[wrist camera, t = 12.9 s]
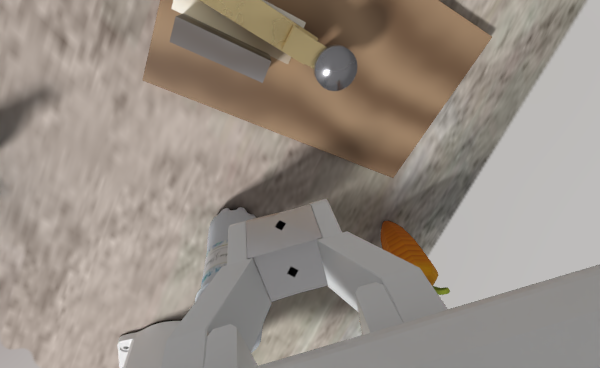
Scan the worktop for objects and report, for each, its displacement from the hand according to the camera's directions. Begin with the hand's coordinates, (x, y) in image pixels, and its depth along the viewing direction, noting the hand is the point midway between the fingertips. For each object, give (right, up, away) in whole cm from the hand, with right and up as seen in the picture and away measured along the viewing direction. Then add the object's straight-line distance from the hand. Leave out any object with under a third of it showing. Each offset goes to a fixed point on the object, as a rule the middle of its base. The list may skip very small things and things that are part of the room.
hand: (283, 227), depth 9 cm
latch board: (+3, +14, +22) cm, 26 cm away
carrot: (+13, -4, +35) cm, 38 cm away
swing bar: (-3, +16, +18) cm, 24 cm away
